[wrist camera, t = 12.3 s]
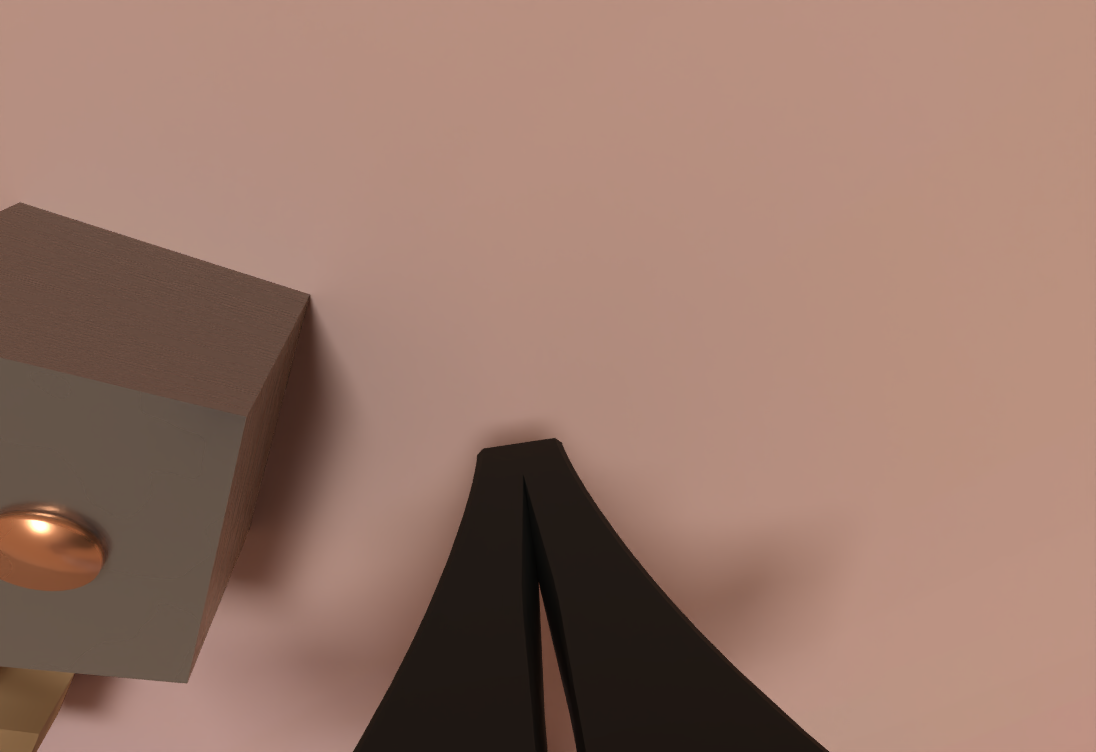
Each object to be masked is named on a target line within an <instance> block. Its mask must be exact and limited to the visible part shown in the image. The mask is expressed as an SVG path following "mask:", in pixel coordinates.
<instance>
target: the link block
mask: <svg viewBox="0 0 1096 752" xmlns="http://www.w3.org/2000/svg"><path fill="white" fill-rule="evenodd" d="M309 296H310V294H307V293H303V292H300V291H297V290H294V289H291V288H288V287H285V286H281V285H278V284H275V283H272V282H269V281H266V280H263V279H259V278H256V277H253V276H250V275H247V274H244V273H241V272H237V271H234V270H231V269H228V268H225V267H222V266H219V265H215V264H212V263H209V262H206V261H203V260H200V259H197V258H193V257H190V256H187V255H184V254H181V253H178V252H174V251H171V250H168V249H165V248H162V247H159V246H156V245H152V244H149V243H146V242H143V241H140V240H137V239H134V238H130V237H127V236H124V235H121V234H118V233H115V232H112V231H108V230H105V229H102V228H99V227H96V226H93V225H90V224H86V223H83V222H80V221H77V220H74V219H71V218H68V217H64V216H61V215H58V214H55V213H52V212H49V211H46V210H42V209H39V208H36V207H33V206H30V205H27V204H24V203H18V204H15V205H13V206H11V207H9V208H7V209H4V210H2V211H0V666H1V667H12V668H23V669H34V670H45V671H56V672H67V673H78V674H89V675H100V676H111V677H122V678H133V679H144V680H155V681H166V682H177V683H188V680H189V678H190V675H191V673H192V670H193V668H194V665H195V663H196V660H197V658H198V655H199V653H200V650H201V648H202V645H203V643H204V640H205V638H206V636H207V633H208V631H209V628H210V626H211V623H212V621H213V618H214V616H215V613H216V611H217V608H218V606H219V603H220V601H221V598H222V596H223V593H224V591H225V588H226V586H227V583H228V581H229V578H230V576H231V573H232V571H233V568H234V566H235V563H236V561H237V558H238V556H239V553H240V551H241V549H242V546H243V544H244V541H245V539H246V536H247V534H248V531H249V528H250V524H251V520H252V517H253V513H254V509H255V505H256V501H257V497H258V493H259V490H260V486H261V482H262V478H263V474H264V470H265V466H266V462H267V459H268V455H269V451H270V447H271V443H272V439H273V435H274V431H275V428H276V424H277V420H278V416H279V412H280V408H281V404H282V400H283V397H284V393H285V389H286V385H287V381H288V377H289V373H290V369H291V366H292V362H293V358H294V354H295V350H296V346H297V342H298V339H299V335H300V331H301V327H302V323H303V319H304V315H305V311H306V308H307V304H308V300H309Z"/></svg>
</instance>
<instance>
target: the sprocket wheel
mask: <svg viewBox="0 0 1096 752" xmlns="http://www.w3.org/2000/svg"><path fill="white" fill-rule="evenodd" d="M74 674H75V673H67V672H56V671H45V670H34V669H23V668H12V667H1V666H0V752H37V750H38V748H39V746H40V745H41V743H42V741H43V739H44V738H45V736H46V734H47V732H48V730H49V729H50V727H51V725H52V723H53V722H54V720H55V718H56V716H57V715H58V712H59V710H60V708H61V705H62V703H63V700H64V698H65V696H66V693H67V691H68V689H69V686H70V684H71V681H72V679H73V677H74Z"/></svg>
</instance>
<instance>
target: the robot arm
mask: <svg viewBox="0 0 1096 752" xmlns="http://www.w3.org/2000/svg"><path fill="white" fill-rule="evenodd" d="M539 585H540V590H541V594H542V598H543V602H544V607H545V611H546V615H547V619H548V624H549V628H550V632H551V636H552V641H553V645H554V649H555V653H556V658H557V662H558V666H559V670H560V675H561V679H562V683H563V687H564V692H565V696H566V700H567V704H568V709H569V713H570V718H571V723H572V728H573V733H574V738H575V743H576V750H577V752H829V751H828V750H827V749H825V748H824V747H823V746H822V745H821V744H820V743H818V742H817V741H816V740H815V739H814V738H813V737H811V736H810V735H809V734H808V733H807V732H805V731H804V730H803V729H802V728H801V727H800V726H799V725H798V724H797V723H796V722H795V721H793V720H792V719H791V718H790V717H789V716H788V715H787V714H786V713H785V712H784V711H783V710H781V709H780V708H779V707H778V706H777V705H776V704H775V703H774V702H773V701H772V700H771V699H770V698H768V697H767V696H766V695H765V694H764V693H763V692H762V691H761V690H760V689H759V688H758V687H756V686H755V685H754V684H753V683H752V682H751V681H750V680H749V679H748V678H747V677H746V676H744V675H743V674H742V673H741V672H740V671H739V670H738V669H737V668H736V667H735V666H734V665H733V664H732V663H731V662H730V661H729V660H728V659H727V658H726V657H725V656H724V655H723V654H722V653H721V652H720V651H719V650H718V649H717V648H716V647H715V646H714V645H713V644H712V643H711V642H710V641H709V640H708V639H707V638H706V637H705V636H704V635H703V634H702V633H701V632H700V631H699V630H698V629H697V628H696V627H695V626H694V624H693V623H692V622H691V621H690V620H689V619H688V618H687V617H686V616H685V615H684V614H683V613H682V612H681V611H680V609H679V608H678V607H677V606H676V605H675V604H674V603H673V602H672V601H671V599H670V598H669V597H668V596H667V595H666V594H665V593H664V592H663V590H662V589H661V588H660V587H659V586H658V585H657V583H656V582H655V581H654V580H653V579H652V577H651V576H650V575H649V574H648V573H647V571H646V570H645V569H644V568H643V566H642V565H641V564H640V563H639V561H638V560H637V559H636V558H635V557H634V555H633V554H632V553H631V552H630V550H629V549H628V548H627V546H626V545H625V544H624V542H623V541H622V540H621V539H620V537H619V536H618V534H617V533H616V532H615V530H614V529H613V527H612V526H611V525H610V523H609V522H608V520H607V519H606V518H605V516H604V515H603V513H602V512H601V511H600V509H599V508H598V506H597V505H596V503H595V502H594V500H593V499H592V497H591V496H590V494H589V493H588V491H587V489H586V488H585V486H584V485H583V483H582V481H581V480H580V478H579V476H578V475H577V473H576V471H575V469H574V468H573V466H572V464H571V462H570V460H569V458H568V456H567V454H566V452H565V450H564V447H563V445H562V442H560V441H559V440H557V439H556V438H552V439H545V440H538V441H532V442H525V443H518V444H511V445H505V446H498V447H491V448H484V449H482V451H481V452H480V453H479V454H478V455H477V462H476V469H475V474H474V478H473V483H472V487H471V491H470V494H469V498H468V501H467V505H466V508H465V512H464V515H463V518H462V521H461V524H460V527H459V529H458V532H457V535H456V538H455V541H454V544H453V547H452V550H451V553H450V555H449V558H448V561H447V563H446V566H445V568H444V571H443V573H442V575H441V578H440V580H439V583H438V585H437V587H436V590H435V592H434V595H433V597H432V599H431V602H430V604H429V607H428V609H427V611H426V613H425V616H424V618H423V620H422V622H421V624H420V626H419V629H418V631H417V633H416V635H415V637H414V639H413V641H412V643H411V645H410V647H409V650H408V651H407V653H406V655H405V657H404V659H403V661H402V663H401V665H400V667H399V669H398V671H397V673H396V675H395V677H394V679H393V681H392V683H391V685H390V687H389V688H388V690H387V692H386V694H385V696H384V697H383V699H382V701H381V703H380V705H379V707H378V708H377V710H376V712H375V714H374V716H373V717H372V719H371V721H370V723H369V725H368V726H367V728H366V730H365V732H364V734H363V735H362V737H361V739H360V741H359V742H358V744H357V746H356V747H355V749H354V751H353V752H548V750H547V739H546V727H545V712H544V690H543V668H542V645H541V623H540V601H539Z"/></svg>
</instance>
